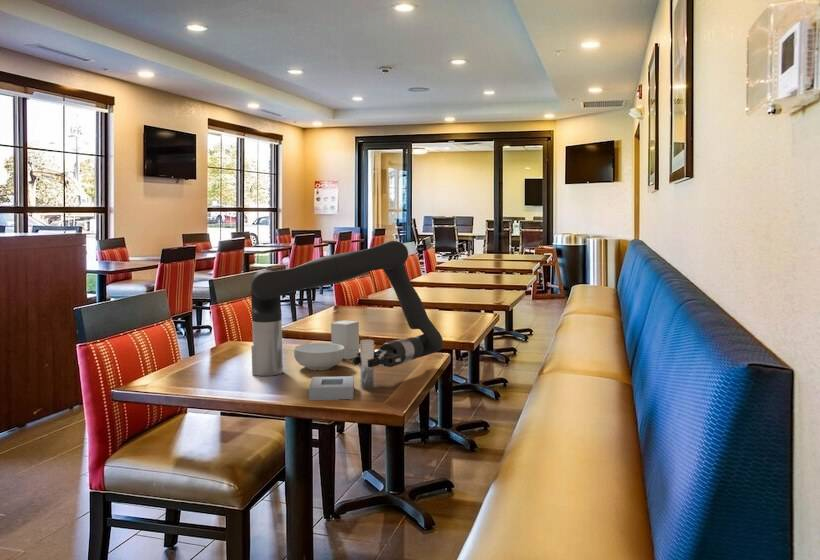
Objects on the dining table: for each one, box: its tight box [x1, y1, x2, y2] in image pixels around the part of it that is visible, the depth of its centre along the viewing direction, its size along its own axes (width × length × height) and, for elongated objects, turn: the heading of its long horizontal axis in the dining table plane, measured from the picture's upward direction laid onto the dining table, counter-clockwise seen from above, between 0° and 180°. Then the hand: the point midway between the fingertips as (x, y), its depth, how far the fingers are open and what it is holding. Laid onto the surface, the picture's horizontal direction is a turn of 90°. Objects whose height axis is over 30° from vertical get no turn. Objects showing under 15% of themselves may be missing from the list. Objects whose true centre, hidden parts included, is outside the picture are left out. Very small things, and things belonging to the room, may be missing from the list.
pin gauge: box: [359, 339, 375, 390], centre depth 191 cm, size 4×4×14 cm
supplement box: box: [330, 319, 360, 360], centre depth 232 cm, size 7×7×13 cm
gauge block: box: [308, 375, 355, 401], centre depth 185 cm, size 12×12×4 cm
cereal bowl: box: [293, 342, 345, 371], centre depth 216 cm, size 17×17×7 cm
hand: (361, 362), depth 189 cm, fingers open, 5 cm apart
